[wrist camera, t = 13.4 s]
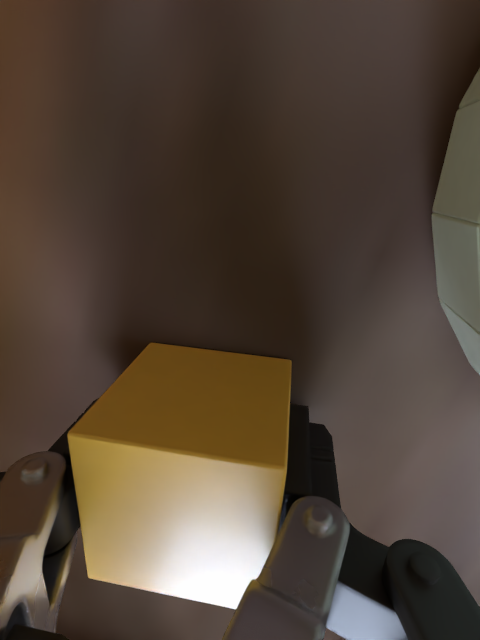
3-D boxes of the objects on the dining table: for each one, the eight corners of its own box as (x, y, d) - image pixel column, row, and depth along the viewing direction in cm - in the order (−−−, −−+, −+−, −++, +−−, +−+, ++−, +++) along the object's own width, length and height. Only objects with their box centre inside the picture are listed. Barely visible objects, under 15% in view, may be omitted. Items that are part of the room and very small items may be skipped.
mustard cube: (150, 341, 12) (65, 433, 7) (292, 359, 11) (287, 469, 7) (154, 453, 13) (87, 579, 9) (277, 473, 13) (266, 617, 9)
